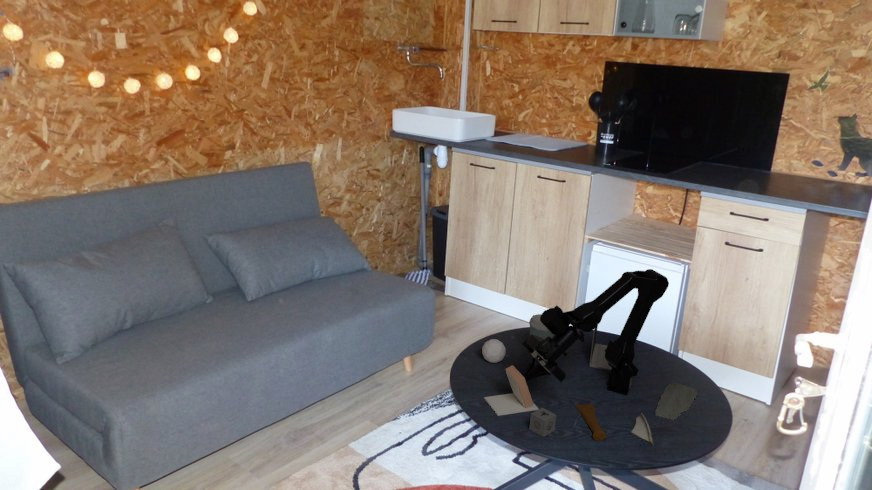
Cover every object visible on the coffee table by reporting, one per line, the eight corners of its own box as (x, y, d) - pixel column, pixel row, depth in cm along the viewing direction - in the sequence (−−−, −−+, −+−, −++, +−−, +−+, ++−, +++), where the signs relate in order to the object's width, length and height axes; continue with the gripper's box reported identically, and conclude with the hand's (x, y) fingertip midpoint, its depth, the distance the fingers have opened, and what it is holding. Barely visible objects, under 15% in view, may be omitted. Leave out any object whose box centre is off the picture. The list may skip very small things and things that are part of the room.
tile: (521, 391, 212) (512, 365, 208) (533, 404, 205) (524, 377, 200) (513, 395, 211) (504, 369, 207) (525, 408, 204) (516, 382, 200)
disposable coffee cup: (534, 348, 243) (538, 309, 239) (563, 358, 237) (567, 317, 233) (519, 359, 235) (523, 318, 230) (548, 369, 229) (553, 327, 224)
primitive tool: (574, 406, 208) (575, 395, 207) (592, 406, 209) (593, 396, 208) (592, 443, 190) (594, 431, 189) (612, 443, 191) (614, 432, 190)
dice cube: (554, 430, 194) (556, 415, 193) (543, 437, 191) (545, 421, 190) (540, 423, 198) (542, 407, 196) (529, 429, 195) (530, 413, 193)
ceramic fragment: (654, 447, 190) (656, 434, 188) (635, 445, 190) (637, 433, 189) (642, 420, 203) (644, 408, 202) (624, 418, 203) (626, 407, 202)
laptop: (627, 374, 229) (632, 338, 225) (588, 367, 233) (593, 331, 229) (630, 351, 246) (635, 317, 242) (593, 345, 249) (598, 311, 245)
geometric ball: (498, 367, 234) (514, 352, 232) (485, 367, 228) (502, 351, 225) (485, 350, 238) (501, 334, 235) (473, 349, 232) (489, 333, 229)
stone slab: (698, 397, 220) (666, 384, 224) (700, 389, 219) (668, 377, 223) (684, 430, 201) (650, 416, 205) (687, 422, 200) (653, 408, 204)
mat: (523, 392, 213) (523, 391, 213) (538, 409, 204) (538, 408, 204) (484, 398, 209) (484, 397, 209) (497, 415, 200) (497, 414, 200)
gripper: (530, 314, 211) (494, 350, 210) (561, 340, 194) (521, 380, 194) (551, 335, 216) (515, 371, 215) (582, 363, 199) (543, 402, 199)
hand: (523, 380), depth 206 cm, fingers closed
